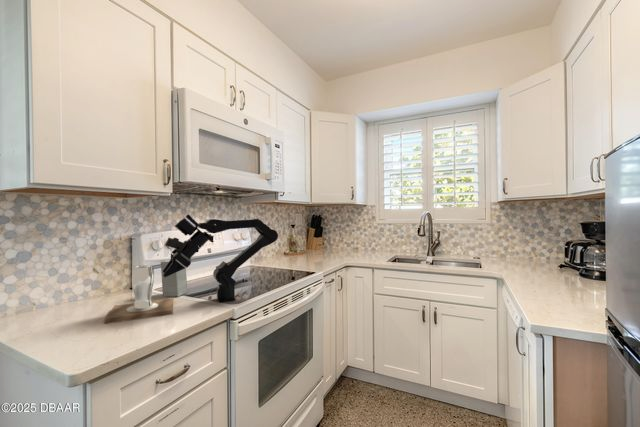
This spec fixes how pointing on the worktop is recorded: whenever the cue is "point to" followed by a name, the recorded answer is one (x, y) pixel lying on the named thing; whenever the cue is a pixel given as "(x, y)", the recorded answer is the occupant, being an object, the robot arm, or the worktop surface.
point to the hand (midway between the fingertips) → (163, 274)
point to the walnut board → (139, 311)
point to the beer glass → (142, 286)
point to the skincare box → (174, 282)
